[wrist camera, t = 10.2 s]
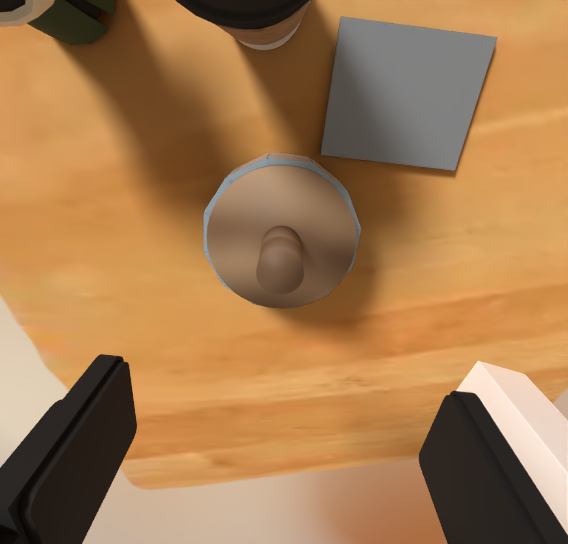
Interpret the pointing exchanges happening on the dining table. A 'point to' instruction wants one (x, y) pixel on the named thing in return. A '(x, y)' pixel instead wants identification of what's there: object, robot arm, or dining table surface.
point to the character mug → (58, 17)
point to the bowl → (276, 160)
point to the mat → (403, 92)
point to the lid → (281, 236)
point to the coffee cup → (253, 19)
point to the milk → (527, 429)
